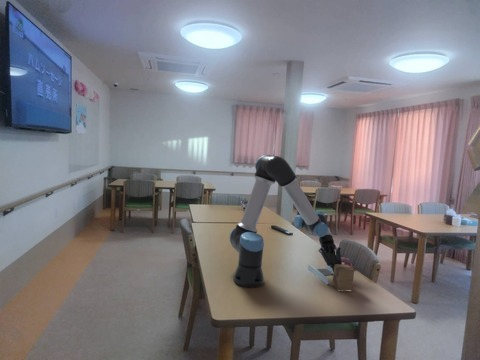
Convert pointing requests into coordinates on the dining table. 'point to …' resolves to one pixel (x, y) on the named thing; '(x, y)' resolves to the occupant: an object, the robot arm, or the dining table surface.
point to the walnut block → (343, 277)
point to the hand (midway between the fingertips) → (339, 278)
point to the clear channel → (321, 272)
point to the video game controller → (346, 261)
